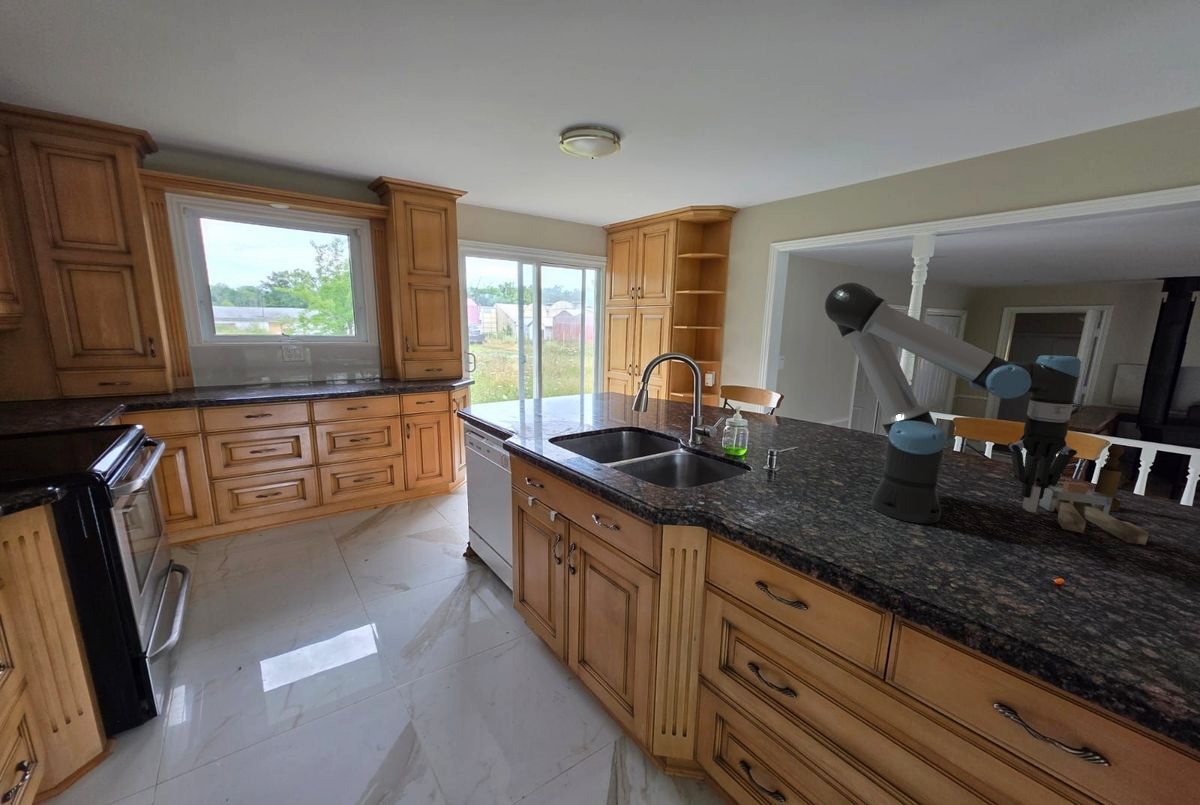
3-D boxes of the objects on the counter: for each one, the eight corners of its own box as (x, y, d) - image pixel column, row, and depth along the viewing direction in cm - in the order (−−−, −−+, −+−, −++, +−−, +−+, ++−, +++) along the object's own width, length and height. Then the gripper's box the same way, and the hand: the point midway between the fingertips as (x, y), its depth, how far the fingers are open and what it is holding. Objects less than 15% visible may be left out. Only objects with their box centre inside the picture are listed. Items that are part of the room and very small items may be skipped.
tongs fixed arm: (1116, 540, 104) (1120, 528, 104) (1052, 503, 126) (1054, 492, 126) (1145, 544, 103) (1149, 531, 102) (1075, 505, 125) (1077, 495, 124)
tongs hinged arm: (1063, 528, 109) (1066, 512, 108) (1042, 498, 129) (1045, 484, 128) (1098, 536, 106) (1102, 519, 105) (1071, 504, 125) (1074, 489, 124)
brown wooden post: (1126, 512, 121) (1143, 449, 118) (1098, 509, 123) (1114, 447, 119) (1104, 503, 128) (1120, 442, 124) (1077, 500, 129) (1092, 440, 126)
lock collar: (1048, 510, 120) (1054, 483, 119) (1039, 505, 124) (1045, 479, 122) (1107, 518, 116) (1114, 490, 115) (1096, 512, 120) (1102, 485, 119)
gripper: (1023, 419, 107) (1005, 511, 111) (1092, 424, 103) (1071, 519, 107) (1006, 414, 114) (990, 500, 118) (1070, 418, 110) (1051, 507, 114)
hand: (1029, 509), depth 112 cm, fingers closed
